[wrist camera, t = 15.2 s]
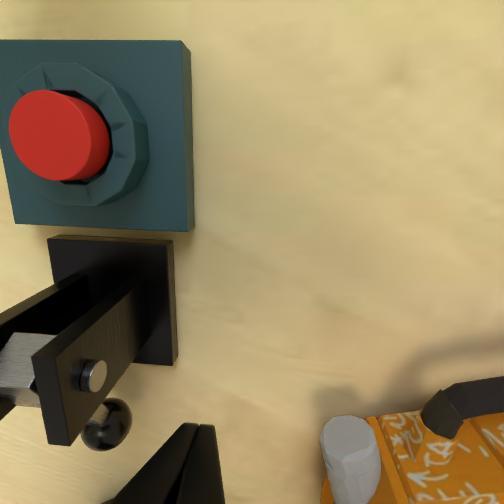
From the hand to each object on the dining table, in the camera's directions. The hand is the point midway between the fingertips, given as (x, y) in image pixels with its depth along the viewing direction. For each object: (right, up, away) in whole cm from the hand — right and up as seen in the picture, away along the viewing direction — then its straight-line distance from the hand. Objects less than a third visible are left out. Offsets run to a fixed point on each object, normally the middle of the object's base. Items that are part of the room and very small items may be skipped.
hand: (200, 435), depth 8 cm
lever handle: (-8, -3, +11) cm, 14 cm away
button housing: (-8, +12, +11) cm, 18 cm away
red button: (-8, +11, +8) cm, 15 cm away
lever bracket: (-8, +2, +14) cm, 16 cm away
